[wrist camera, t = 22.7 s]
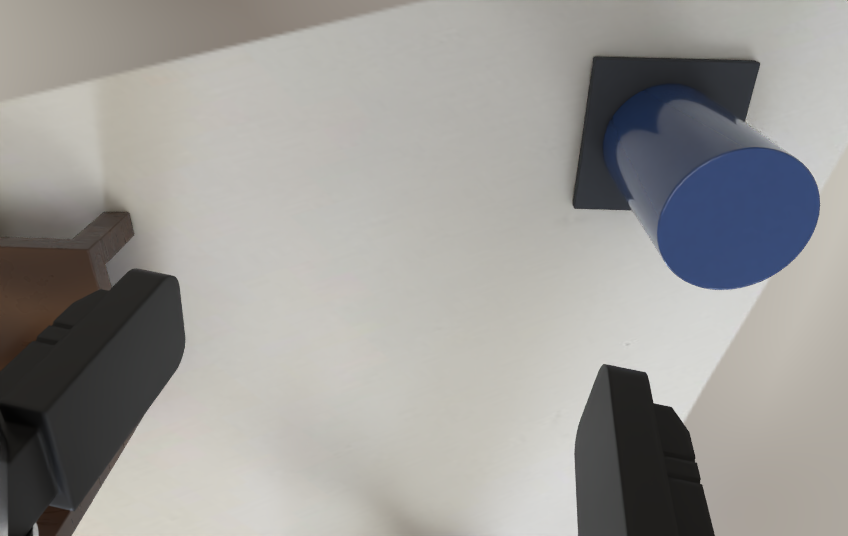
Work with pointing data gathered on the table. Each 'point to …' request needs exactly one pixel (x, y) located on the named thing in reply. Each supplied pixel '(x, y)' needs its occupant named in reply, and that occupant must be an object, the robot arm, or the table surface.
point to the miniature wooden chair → (55, 308)
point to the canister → (709, 188)
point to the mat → (631, 76)
